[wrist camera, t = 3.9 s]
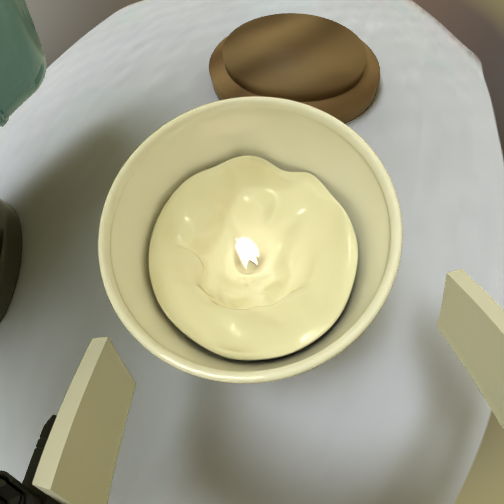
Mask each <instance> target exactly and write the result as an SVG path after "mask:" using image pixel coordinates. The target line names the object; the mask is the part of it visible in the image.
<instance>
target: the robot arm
mask: <svg viewBox="0 0 504 504" xmlns="http://www.w3.org/2000/svg"><path fill="white" fill-rule="evenodd" d="M45 72H46V60H45V55H44V52H43V48H42V46H41V43H40V40H39V37H38V34H37V31H36V29H35V26H34V23H33V21H32V18H31V15H30V12H29V10H28V7H27V4H26V2H25V0H0V126H2V127H3V126H4V125H5V124H6V123H7V121H8V119H9V116H10V115H11V114H12V113H13V112H14V111H15V110H16V109H17V108H18V107H19V106H21V105H22V104H23V103H24V102H25V101H26V100H27V99H28V98H29V97H30V96H31V95H32V94H33V93H34V92H35V91H36V90H37V89H38V88H39V87H40V85H41V83H42V81H43V79H44V76H45ZM21 242H22V241H21V229H20V223H19V220H18V217H17V214H16V212H15V211H14V209H13V208H12V207H11V206H10V205H8V204H7V203H5V202H4V201H2V200H1V199H0V320H1V319H2V317H3V315H4V313H5V311H6V309H7V307H8V305H9V303H10V300H11V297H12V294H13V291H14V288H15V285H16V281H17V277H18V272H19V266H20V259H21ZM437 328H438V329H439V331H440V332H441V333H442V335H443V336H444V338H445V339H446V340H447V342H448V343H449V345H450V346H451V348H452V349H453V350H454V352H455V353H456V355H457V356H458V358H459V359H460V361H461V362H462V364H463V365H464V367H465V368H466V370H467V371H468V373H469V374H470V376H471V377H472V379H473V380H474V382H475V383H476V385H477V387H478V388H479V390H480V391H481V393H482V395H483V396H484V398H485V399H486V401H487V403H488V404H489V406H490V408H491V409H492V411H493V412H494V414H495V416H496V418H497V420H498V421H499V423H500V425H501V426H502V428H503V430H504V310H503V309H502V308H501V307H500V306H499V305H498V304H497V303H496V302H495V301H494V300H493V299H492V298H491V297H490V296H489V295H488V294H487V293H486V292H485V291H484V290H483V289H482V288H481V287H480V286H479V285H478V284H477V283H476V282H475V281H474V280H473V279H472V278H471V277H470V276H469V275H468V274H467V273H466V272H464V271H463V270H462V269H459V270H455V271H452V272H448V273H447V275H446V282H445V288H444V294H443V300H442V306H441V311H440V316H439V321H438V326H437ZM135 386H136V383H135V381H134V380H133V378H132V376H131V375H130V373H129V372H128V370H127V368H126V367H125V365H124V363H123V362H122V360H121V358H120V357H119V355H118V353H117V352H116V350H115V348H114V346H113V345H112V343H111V341H110V339H109V337H100V338H92V340H91V342H90V344H89V346H88V348H87V350H86V352H85V354H84V357H83V359H82V361H81V363H80V365H79V367H78V369H77V371H76V374H75V376H74V378H73V380H72V382H71V384H70V387H69V389H68V391H67V394H66V396H65V398H64V400H63V403H62V405H61V407H60V410H59V412H58V415H52V417H51V418H50V419H49V420H48V421H47V423H46V424H45V425H44V427H43V430H42V432H41V435H40V439H39V440H38V442H37V445H36V447H37V448H36V449H35V450H34V453H33V456H32V458H31V461H30V464H29V466H28V469H27V472H26V475H25V478H24V480H23V483H20V482H19V481H18V480H16V479H15V478H14V477H12V476H11V475H10V474H9V473H7V472H5V471H0V504H107V502H108V497H109V492H110V487H111V482H112V478H113V473H114V469H115V464H116V460H117V455H118V451H119V447H120V443H121V439H122V435H123V431H124V427H125V423H126V419H127V415H128V411H129V407H130V404H131V400H132V396H133V393H134V389H135Z"/></svg>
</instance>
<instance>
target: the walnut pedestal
mask: <svg viewBox="0 0 504 504" xmlns="http://www.w3.org/2000/svg"><path fill="white" fill-rule="evenodd" d="M209 72H210V76H211V80H212V83H213V87H214V90H215V93H216V95H217V97H218V98H219V100H225V99H230V98H238V97H251V96H262V97H275V98H282V99H288V100H292V101H296V102H300V103H303V104H306V105H309V106H312V107H314V108H317V109H319V110H321V111H324V112H326V113H328V114H329V115H331V116H333V117H335V118H336V119H338V120H340V121H341V122H343V123H344V124H345V123H347V122H349V121H351V120H353V119H355V118H356V117H358V116H359V115H361V114H362V113H363V112H364V111H365V110H366V109H368V107H369V106H370V104H371V103H372V101H373V99H374V97H375V94H376V90H377V86H378V83H379V78H380V67H379V63H378V60H377V58H376V56H375V55H374V53H373V52H372V50H371V49H370V48H369V47H368V46H367V45H366V44H365V43H364V42H363V41H362V40H360V39H359V38H358V37H357V35H356V34H354V33H353V32H352V31H351V30H349V29H348V28H346V27H344V26H343V25H341V24H339V23H336V22H334V21H332V20H329V19H326V18H322V17H318V16H313V15H307V14H295V13H287V14H275V15H269V16H264V17H260V18H257V19H254V20H251V21H249V22H247V23H245V24H243V25H241V26H239V27H238V28H237V29H235V30H234V31H233V32H232V33H231V34H230V35H229V36H227V37H226V38H225V39H224V40H223V41H222V42H220V43H219V45H218V46H217V47H216V48H215V50H214V52H213V53H212V55H211V58H210V62H209Z"/></svg>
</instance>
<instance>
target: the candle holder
mask: <svg viewBox="0 0 504 504" xmlns="http://www.w3.org/2000/svg"><path fill="white" fill-rule="evenodd" d="M401 250H402V218H401V211H400V206H399V202H398V198H397V195H396V192H395V189H394V186H393V184H392V181H391V179H390V177H389V175H388V173H387V171H386V169H385V167H384V166H383V164H382V162H381V161H380V159H379V158H378V156H377V155H376V154H375V152H374V151H373V150H372V149H371V147H370V146H369V145H368V144H367V143H366V142H365V141H364V140H363V139H362V138H361V137H360V136H359V135H358V134H357V133H356V132H354V131H353V130H352V129H351V128H349V127H348V126H347V125H345V124H344V123H343V122H341V121H340V120H338V119H336V118H335V117H333V116H331V115H329V114H328V113H326V112H324V111H321V110H319V109H317V108H314V107H312V106H309V105H306V104H303V103H300V102H296V101H292V100H288V99H282V98H275V97H262V96H251V97H238V98H230V99H225V100H220V101H216V102H212V103H209V104H206V105H203V106H200V107H197V108H195V109H192V110H190V111H188V112H186V113H184V114H182V115H180V116H178V117H176V118H174V119H173V120H171V121H169V122H168V123H166V124H165V125H163V126H162V127H160V128H159V129H158V130H156V131H155V132H154V133H153V134H151V135H150V136H149V137H148V138H147V139H146V140H145V141H144V142H143V143H142V144H141V145H140V146H139V147H138V148H137V149H136V150H135V151H134V152H133V153H132V155H131V156H130V157H129V158H128V160H127V161H126V162H125V164H124V165H123V167H122V168H121V170H120V171H119V173H118V175H117V176H116V178H115V180H114V182H113V184H112V186H111V188H110V191H109V193H108V195H107V198H106V201H105V204H104V207H103V211H102V215H101V219H100V225H99V233H98V258H99V266H100V272H101V276H102V280H103V284H104V287H105V290H106V293H107V295H108V298H109V300H110V302H111V304H112V306H113V308H114V310H115V312H116V314H117V315H118V317H119V318H120V320H121V321H122V323H123V324H124V326H125V327H126V328H127V329H128V331H129V332H130V333H131V334H132V335H133V336H134V337H135V339H136V340H137V341H138V342H139V343H141V344H142V345H143V346H144V347H145V348H146V349H147V350H149V351H150V352H151V353H152V354H154V355H155V356H157V357H158V358H159V359H161V360H163V361H164V362H166V363H168V364H169V365H171V366H173V367H175V368H177V369H179V370H182V371H184V372H186V373H189V374H192V375H195V376H198V377H201V378H205V379H209V380H213V381H219V382H226V383H242V384H245V383H262V382H270V381H275V380H280V379H284V378H288V377H291V376H295V375H298V374H300V373H303V372H306V371H308V370H310V369H313V368H315V367H317V366H319V365H321V364H322V363H324V362H326V361H328V360H329V359H331V358H333V357H334V356H336V355H337V354H338V353H340V352H341V351H343V350H344V349H345V348H346V347H348V346H349V345H350V344H351V343H352V342H353V341H355V340H356V339H357V338H358V337H359V336H360V335H361V334H362V333H363V332H364V330H365V329H366V328H367V327H368V326H369V325H370V323H371V322H372V321H373V319H374V318H375V317H376V315H377V314H378V312H379V311H380V309H381V308H382V306H383V304H384V302H385V301H386V299H387V297H388V295H389V293H390V290H391V288H392V286H393V283H394V280H395V277H396V274H397V271H398V267H399V262H400V257H401Z"/></svg>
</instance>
